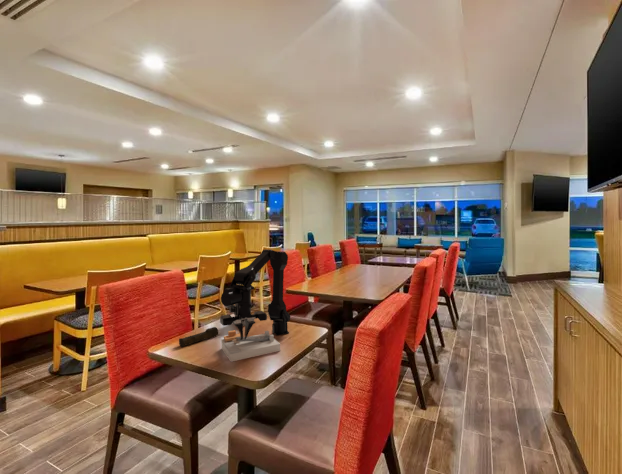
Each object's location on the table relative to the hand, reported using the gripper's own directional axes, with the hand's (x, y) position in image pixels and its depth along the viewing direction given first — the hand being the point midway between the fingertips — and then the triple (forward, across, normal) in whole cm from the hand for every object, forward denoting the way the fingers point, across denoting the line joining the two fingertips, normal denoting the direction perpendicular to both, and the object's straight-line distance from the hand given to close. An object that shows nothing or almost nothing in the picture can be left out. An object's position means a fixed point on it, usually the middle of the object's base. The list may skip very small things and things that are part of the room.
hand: (243, 338), depth 139 cm
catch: (+1, +3, -6) cm, 7 cm away
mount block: (+6, -3, 0) cm, 6 cm away
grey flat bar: (+1, -4, 0) cm, 5 cm away
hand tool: (+6, +14, -23) cm, 27 cm away
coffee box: (+5, -10, -37) cm, 38 cm away
